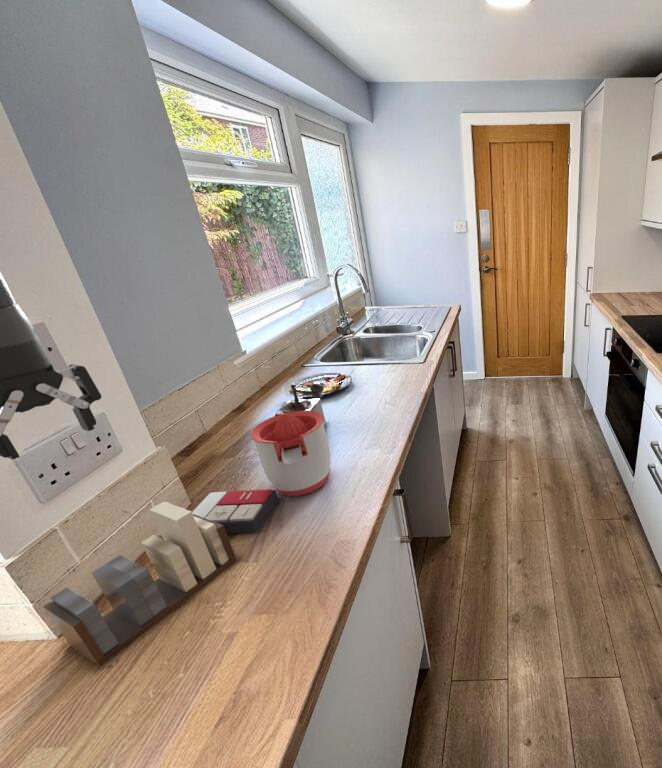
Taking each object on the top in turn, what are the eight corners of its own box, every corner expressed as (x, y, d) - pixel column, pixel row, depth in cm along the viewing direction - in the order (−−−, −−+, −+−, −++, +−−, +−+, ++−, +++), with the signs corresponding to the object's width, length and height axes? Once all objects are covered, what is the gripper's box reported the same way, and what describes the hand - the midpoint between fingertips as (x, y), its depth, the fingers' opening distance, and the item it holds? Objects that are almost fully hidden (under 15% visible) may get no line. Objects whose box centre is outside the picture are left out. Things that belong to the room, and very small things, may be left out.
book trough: (69, 645, 65) (39, 601, 61) (208, 547, 84) (192, 509, 80) (100, 666, 62) (69, 622, 58) (237, 560, 80) (221, 521, 77)
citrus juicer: (268, 515, 92) (242, 440, 84) (271, 475, 107) (249, 408, 99) (340, 494, 99) (323, 422, 91) (334, 459, 113) (318, 394, 105)
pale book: (176, 566, 78) (149, 509, 73) (190, 557, 80) (164, 501, 75) (203, 579, 75) (176, 520, 70) (216, 569, 77) (191, 511, 72)
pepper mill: (280, 443, 122) (263, 389, 115) (294, 425, 132) (279, 374, 125) (333, 439, 123) (320, 385, 116) (342, 421, 133) (331, 371, 126)
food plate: (361, 377, 170) (359, 369, 169) (337, 401, 149) (335, 392, 147) (303, 377, 171) (301, 370, 170) (271, 401, 150) (269, 393, 149)
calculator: (252, 519, 86) (177, 522, 85) (257, 534, 88) (183, 538, 86) (276, 487, 96) (209, 489, 95) (279, 501, 98) (214, 504, 96)
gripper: (52, 325, 63) (98, 418, 69) (-100, 354, 51) (-28, 463, 57) (78, 329, 60) (123, 425, 66) (-78, 360, 48) (-4, 474, 54)
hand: (53, 442), depth 62 cm, fingers open, 8 cm apart
